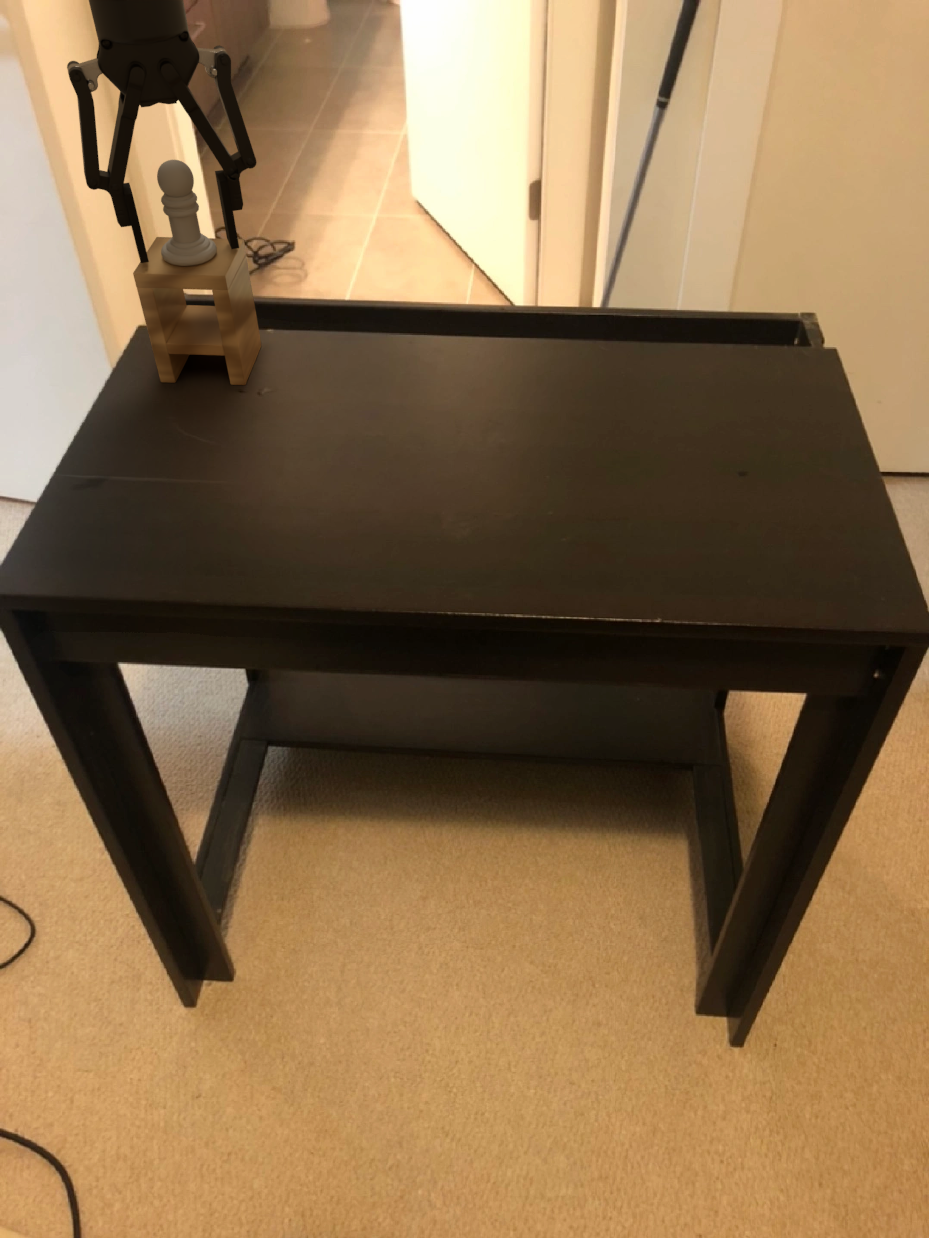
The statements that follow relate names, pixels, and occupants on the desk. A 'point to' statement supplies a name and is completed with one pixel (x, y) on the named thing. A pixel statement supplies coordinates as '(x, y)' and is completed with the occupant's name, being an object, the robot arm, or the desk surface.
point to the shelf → (200, 311)
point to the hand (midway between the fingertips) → (188, 249)
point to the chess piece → (182, 217)
